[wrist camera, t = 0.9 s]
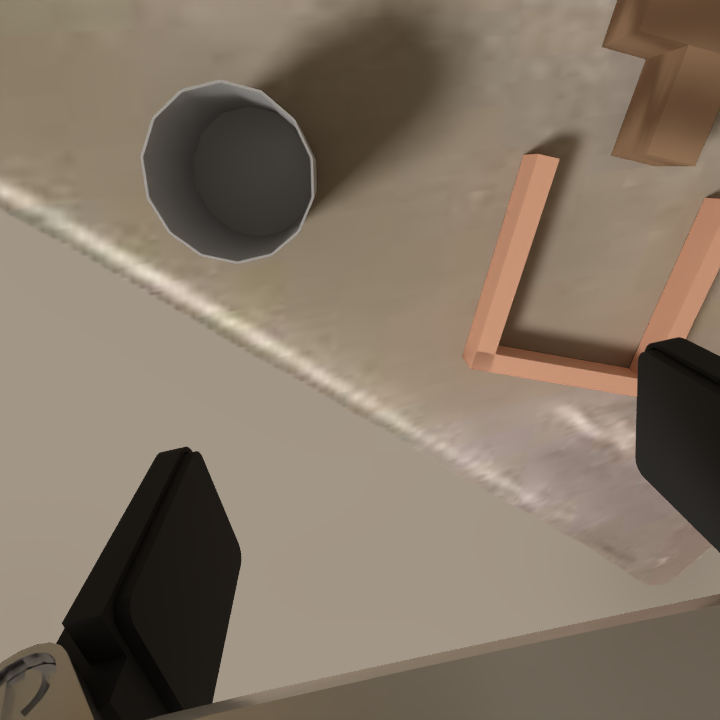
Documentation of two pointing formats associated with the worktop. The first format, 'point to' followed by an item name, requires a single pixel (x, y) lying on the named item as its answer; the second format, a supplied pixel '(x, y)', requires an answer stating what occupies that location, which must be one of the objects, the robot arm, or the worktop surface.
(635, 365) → the frame
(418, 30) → the worktop surface
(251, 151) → the cup
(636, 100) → the t block
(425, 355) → the worktop surface
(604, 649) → the robot arm
